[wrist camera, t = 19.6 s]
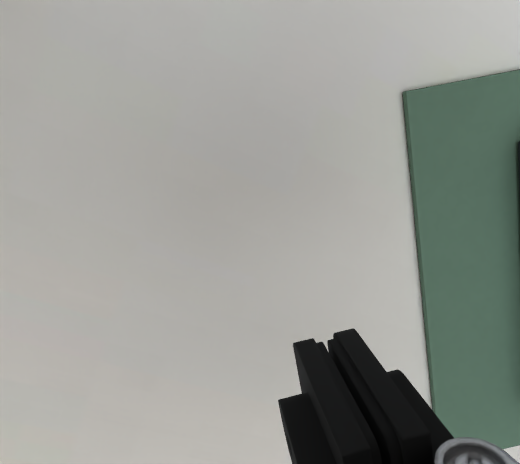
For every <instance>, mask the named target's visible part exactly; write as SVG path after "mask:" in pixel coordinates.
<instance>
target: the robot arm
mask: <svg viewBox="0 0 520 464" xmlns="http://www.w3.org/2000/svg"><path fill="white" fill-rule="evenodd" d="M333 338H334V339H331V340H328V350H329V353H328V351H327V349H326V347H325V345H324V344H323V342H319V343H316V342H315V340H314V339H313V338H312V339H308V340H304V341H300V342H296V343H293V347H294V353H295V358H296V364H297V369H298V375H299V380H300V386H301V391H302V394H299V395H295V396H291V397H288V398H284V399H280V400H278V402H279V408H280V413H281V418H282V422H283V427H284V432H285V436H286V441H287V445H288V449H289V453H290V457H291V460H292V464H519V463H518V462H517V461H516V460H515V459H514V458H512V457H511V456H510V455H509V454H508V453H507V452H505V451H504V450H502V449H501V448H500V447H498V446H497V445H495V444H493V443H490V442H488V441H486V440H483V439H478V438H473V437H458V438H454V437H453V436H452V434H451V433H450V432H449V431H448V429H447V428H446V427H445V426H444V424H443V423H442V422H441V421H440V419H439V418H438V417H437V416H436V414H435V413H434V412H433V410H432V409H431V408H430V407H429V405H428V404H427V403H426V402H425V400H424V399H423V398H422V397H421V395H420V394H419V393H418V392H417V390H416V389H415V388H414V387H413V385H412V384H411V383H410V381H409V380H408V379H407V378H406V376H405V375H404V374H403V373H402V372H401V371H400V370H394V371H390V372H386V371H385V369H384V368H383V367H382V365H381V364H380V363H379V361H378V360H377V359H376V357H375V356H374V354H373V353H372V352H371V350H370V349H369V348H368V346H367V345H366V344H365V342H364V341H363V339H362V338H361V337H360V335H359V334H358V333H357V331H356V330H355V329H349V330H345V331H341V332H337V333H334V334H333Z"/></svg>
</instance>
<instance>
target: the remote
mask: <svg viewBox="0 0 520 464" xmlns="http://www.w3.org/2000/svg"><path fill="white" fill-rule="evenodd" d="M518 166H519V200H520V141H519V142H518Z"/></svg>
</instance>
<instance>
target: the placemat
mask: <svg viewBox="0 0 520 464" xmlns="http://www.w3.org/2000/svg"><path fill="white" fill-rule="evenodd" d="M403 103H404V113H405V124H406V134H407V145H408V155H409V166H410V176H411V187H412V198H413V208H414V219H415V229H416V240H417V250H418V261H419V271H420V282H421V292H422V303H423V314H424V324H425V335H426V345H427V356H428V366H429V377H430V387H431V398H432V408H433V412H434V413H435V414H436V416H437V417H438V418H439V419H440V421H441V422H442V423H443V424H444V426H445V427H446V428H447V429H448V431H449V432H450V433H451V434H452V436H453V437H454V438H458V437H473V438H478V439H483V440H486V441H488V442H490V443H493V444H495V445H497V446H498V447H500V448H501V449H505V448H510V447H514V446H518V445H520V200H519V166H518V142H519V141H520V70H515V71H509V72H504V73H499V74H494V75H489V76H483V77H478V78H473V79H468V80H462V81H457V82H452V83H447V84H442V85H436V86H431V87H426V88H421V89H415V90H410V91H405V92H403Z"/></svg>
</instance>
